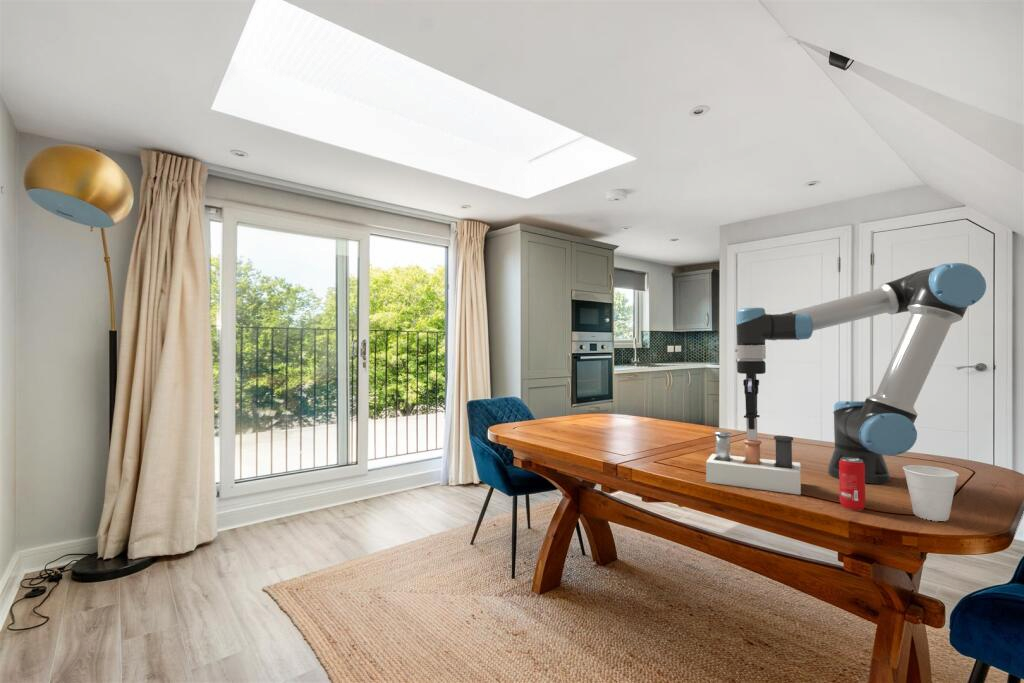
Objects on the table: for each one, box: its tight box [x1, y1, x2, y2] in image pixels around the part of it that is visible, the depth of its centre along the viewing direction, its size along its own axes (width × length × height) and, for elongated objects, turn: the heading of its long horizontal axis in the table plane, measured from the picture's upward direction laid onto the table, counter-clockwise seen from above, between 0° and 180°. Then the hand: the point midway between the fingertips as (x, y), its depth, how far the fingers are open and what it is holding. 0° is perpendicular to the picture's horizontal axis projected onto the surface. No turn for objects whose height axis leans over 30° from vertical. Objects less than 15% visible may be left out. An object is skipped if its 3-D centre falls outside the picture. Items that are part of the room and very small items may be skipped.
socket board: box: [705, 453, 802, 496], centre depth 138 cm, size 24×12×6 cm, turn 58°
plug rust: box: [742, 438, 762, 465], centre depth 138 cm, size 5×5×10 cm
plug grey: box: [713, 430, 733, 462], centre depth 142 cm, size 5×5×10 cm
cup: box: [902, 464, 960, 522], centre depth 110 cm, size 10×10×11 cm
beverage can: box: [838, 457, 866, 512], centre depth 117 cm, size 5×5×12 cm
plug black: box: [773, 435, 794, 469], centre depth 134 cm, size 5×5×10 cm
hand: (751, 439), depth 138 cm, fingers closed
